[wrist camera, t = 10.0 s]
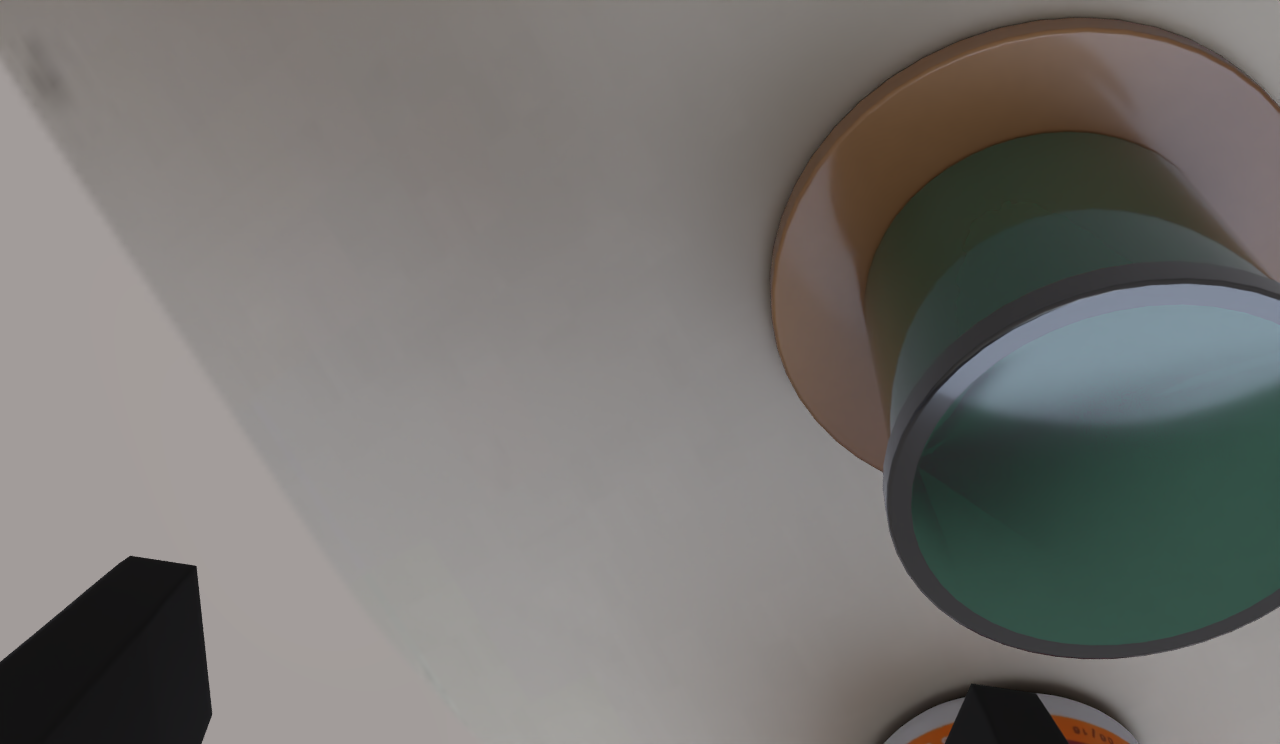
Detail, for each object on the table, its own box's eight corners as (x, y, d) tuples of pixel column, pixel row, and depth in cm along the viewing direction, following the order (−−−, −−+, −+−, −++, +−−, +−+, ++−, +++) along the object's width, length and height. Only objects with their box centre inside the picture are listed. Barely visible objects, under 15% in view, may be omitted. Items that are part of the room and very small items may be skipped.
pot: (790, 372, 19) (807, 579, 15) (967, 55, 16) (1052, 201, 12) (1092, 483, 20) (1189, 710, 15) (1316, 202, 17) (1513, 390, 12)
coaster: (691, 387, 20) (690, 407, 19) (925, -78, 15) (932, -69, 15) (1105, 537, 21) (1115, 559, 21) (1433, 144, 17) (1454, 160, 16)
